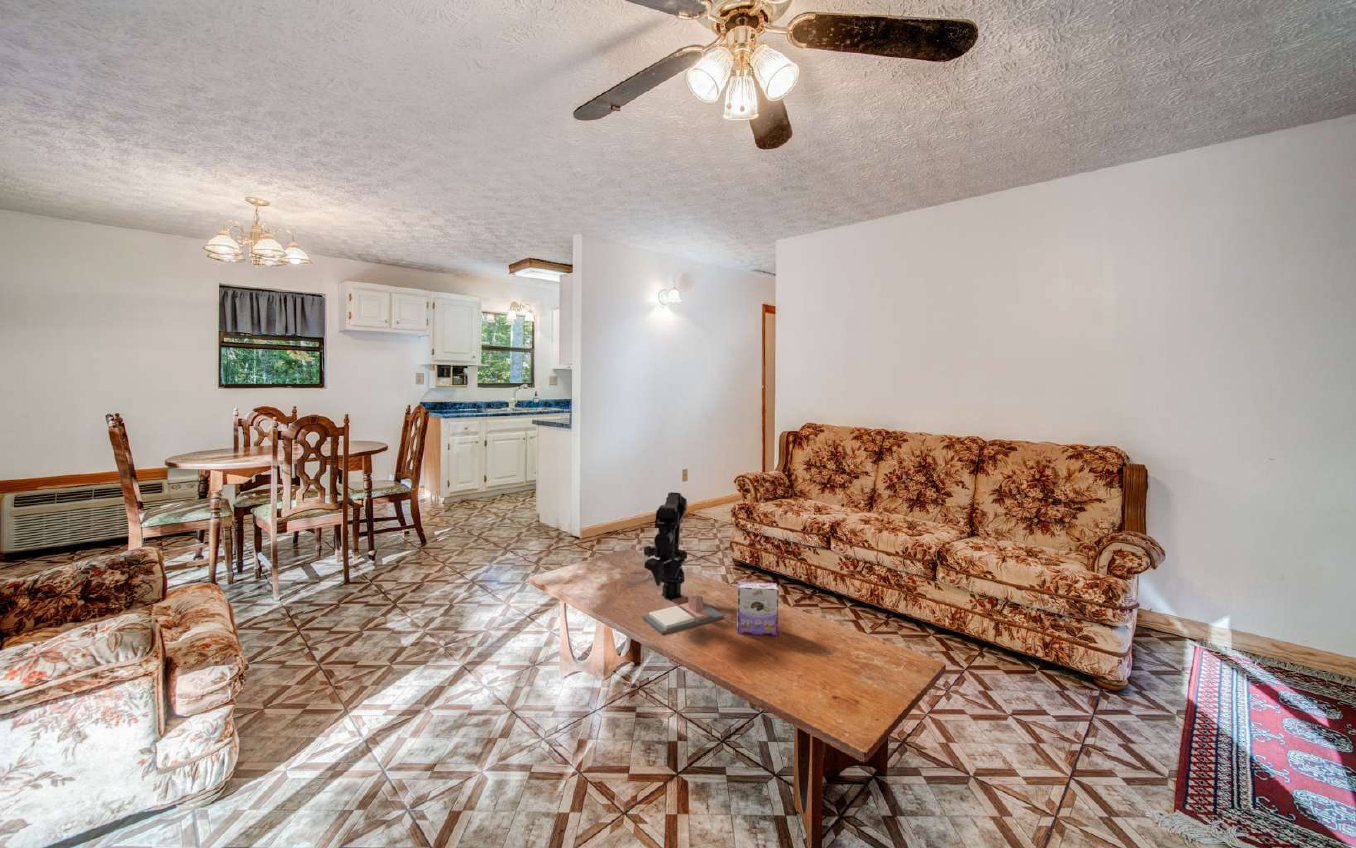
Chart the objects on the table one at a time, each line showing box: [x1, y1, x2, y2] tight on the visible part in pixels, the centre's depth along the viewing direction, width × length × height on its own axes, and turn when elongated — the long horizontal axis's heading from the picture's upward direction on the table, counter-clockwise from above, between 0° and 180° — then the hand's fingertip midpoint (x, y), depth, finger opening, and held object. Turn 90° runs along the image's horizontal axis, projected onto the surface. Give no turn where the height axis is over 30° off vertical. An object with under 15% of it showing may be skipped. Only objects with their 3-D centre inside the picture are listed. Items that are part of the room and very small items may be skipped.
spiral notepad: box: [648, 605, 695, 629], centre depth 188 cm, size 13×12×1 cm
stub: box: [679, 592, 711, 620], centre depth 193 cm, size 6×12×6 cm, turn 32°
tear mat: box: [641, 602, 724, 635], centre depth 190 cm, size 26×14×1 cm, turn 122°
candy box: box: [736, 581, 779, 636], centre depth 181 cm, size 14×6×16 cm, turn 84°
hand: (665, 582), depth 193 cm, fingers open, 9 cm apart
